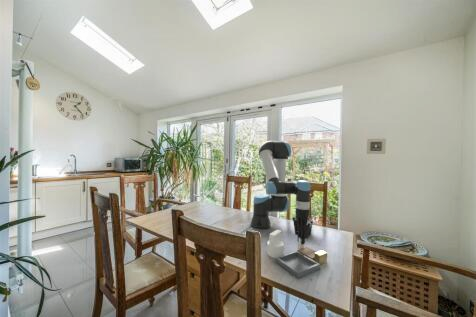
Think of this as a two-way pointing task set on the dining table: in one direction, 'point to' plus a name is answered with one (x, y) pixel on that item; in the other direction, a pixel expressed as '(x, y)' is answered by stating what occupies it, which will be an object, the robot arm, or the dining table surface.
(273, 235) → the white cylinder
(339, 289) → the dining table surface
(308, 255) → the tan rounded-edge slab
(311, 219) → the coffee mug
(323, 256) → the block
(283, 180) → the robot arm
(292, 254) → the tray
